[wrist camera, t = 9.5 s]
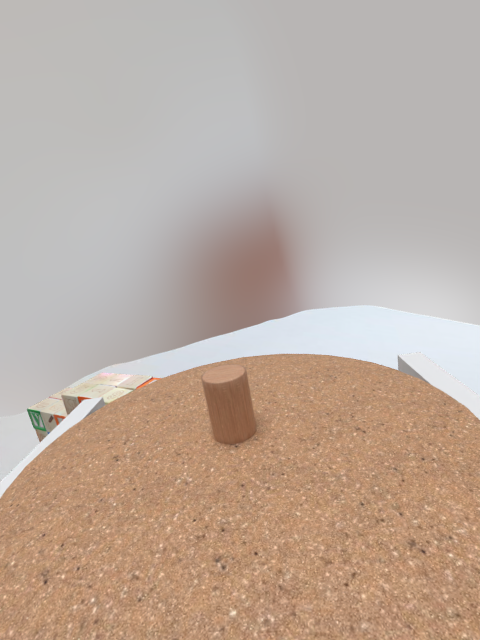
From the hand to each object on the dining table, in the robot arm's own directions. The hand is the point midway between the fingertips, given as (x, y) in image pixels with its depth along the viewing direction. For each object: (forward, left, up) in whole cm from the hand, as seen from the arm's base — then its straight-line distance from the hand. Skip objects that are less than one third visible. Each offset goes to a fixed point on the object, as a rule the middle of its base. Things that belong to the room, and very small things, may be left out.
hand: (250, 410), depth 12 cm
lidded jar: (+1, -4, -6) cm, 8 cm away
